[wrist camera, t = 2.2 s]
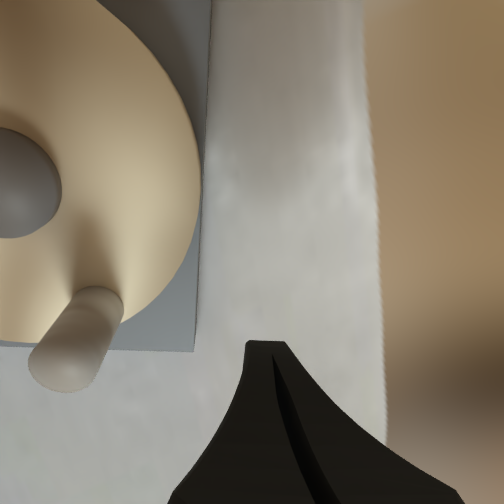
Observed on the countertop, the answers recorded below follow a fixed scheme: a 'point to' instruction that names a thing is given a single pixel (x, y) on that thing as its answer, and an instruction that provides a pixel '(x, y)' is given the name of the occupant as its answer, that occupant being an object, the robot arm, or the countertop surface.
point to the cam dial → (86, 183)
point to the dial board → (195, 100)
